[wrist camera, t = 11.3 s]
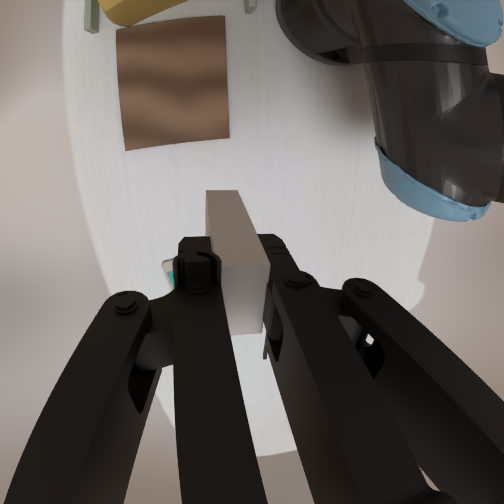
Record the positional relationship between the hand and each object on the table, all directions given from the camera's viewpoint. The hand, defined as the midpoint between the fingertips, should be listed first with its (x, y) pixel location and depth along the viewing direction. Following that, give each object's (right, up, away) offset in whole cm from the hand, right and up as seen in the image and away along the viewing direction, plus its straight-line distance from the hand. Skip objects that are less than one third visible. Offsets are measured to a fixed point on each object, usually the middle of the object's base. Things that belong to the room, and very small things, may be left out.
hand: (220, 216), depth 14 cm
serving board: (-8, +19, +16) cm, 26 cm away
